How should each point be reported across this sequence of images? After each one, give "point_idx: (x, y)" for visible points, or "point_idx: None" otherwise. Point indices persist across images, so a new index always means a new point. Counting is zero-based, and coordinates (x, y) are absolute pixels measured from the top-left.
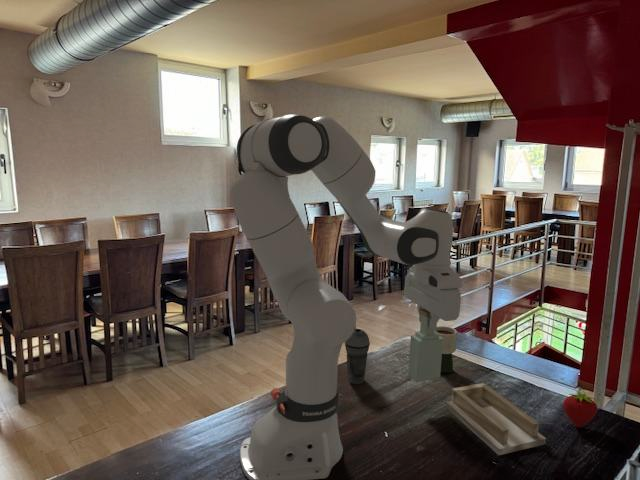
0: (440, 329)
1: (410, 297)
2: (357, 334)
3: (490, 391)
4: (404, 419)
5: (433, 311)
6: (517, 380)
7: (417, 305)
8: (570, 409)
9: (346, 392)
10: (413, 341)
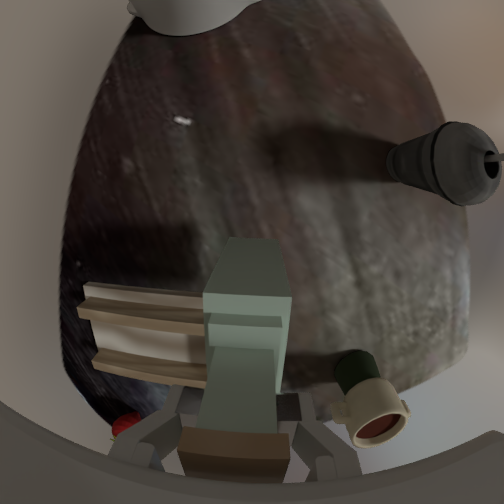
0: (399, 423)
1: (447, 471)
2: (473, 147)
3: (190, 381)
4: (214, 181)
5: (56, 454)
6: None
7: (356, 467)
8: (120, 421)
9: (361, 113)
10: (259, 286)
